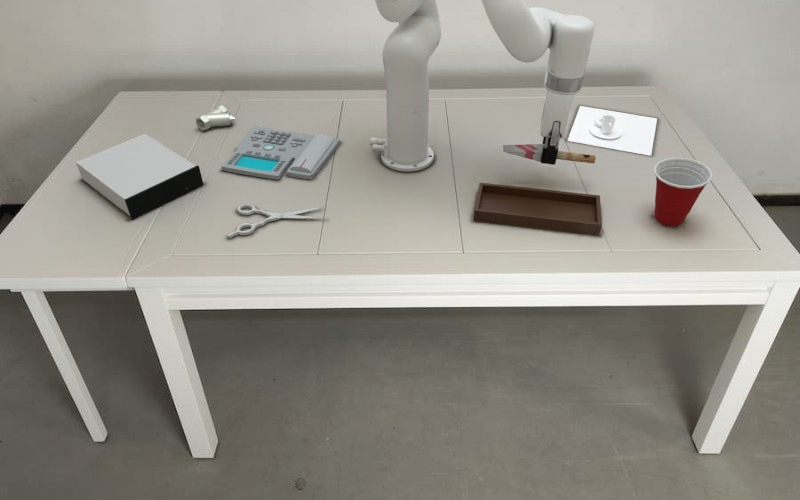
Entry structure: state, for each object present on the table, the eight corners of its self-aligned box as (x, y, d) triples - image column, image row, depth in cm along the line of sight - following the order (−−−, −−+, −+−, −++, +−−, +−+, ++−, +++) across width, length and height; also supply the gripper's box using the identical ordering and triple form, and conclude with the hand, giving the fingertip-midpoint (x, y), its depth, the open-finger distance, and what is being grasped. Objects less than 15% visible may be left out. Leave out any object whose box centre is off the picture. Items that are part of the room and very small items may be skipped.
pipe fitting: (238, 124, 166) (219, 116, 169) (236, 111, 164) (217, 102, 166) (216, 137, 161) (197, 128, 164) (214, 123, 158) (194, 115, 161)
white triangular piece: (592, 121, 166) (595, 107, 164) (623, 126, 164) (627, 112, 161) (586, 137, 160) (590, 122, 157) (619, 142, 158) (623, 128, 155)
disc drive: (132, 220, 134) (126, 200, 131) (81, 180, 145) (74, 161, 142) (204, 185, 144) (199, 166, 141) (150, 150, 155) (145, 132, 152)
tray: (473, 221, 133) (474, 210, 131) (478, 192, 141) (479, 182, 139) (599, 235, 129) (602, 225, 127) (597, 206, 137) (600, 195, 135)
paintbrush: (504, 138, 141) (595, 149, 140) (502, 148, 143) (592, 160, 142) (504, 147, 138) (597, 159, 137) (502, 157, 140) (593, 169, 139)
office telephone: (340, 133, 157) (309, 176, 142) (340, 143, 158) (310, 186, 144) (253, 120, 161) (215, 160, 146) (254, 129, 163) (217, 170, 148)
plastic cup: (634, 203, 138) (648, 155, 130) (685, 203, 138) (701, 155, 130) (648, 234, 130) (663, 184, 122) (702, 235, 129) (720, 185, 122)
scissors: (230, 205, 136) (324, 196, 138) (231, 208, 137) (324, 199, 139) (227, 235, 128) (327, 226, 130) (228, 238, 129) (327, 229, 131)
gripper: (546, 61, 135) (532, 137, 147) (543, 96, 123) (529, 176, 135) (581, 65, 134) (565, 141, 146) (583, 100, 122) (565, 180, 134)
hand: (548, 157), depth 140 cm, fingers closed on paintbrush, 3 cm apart
